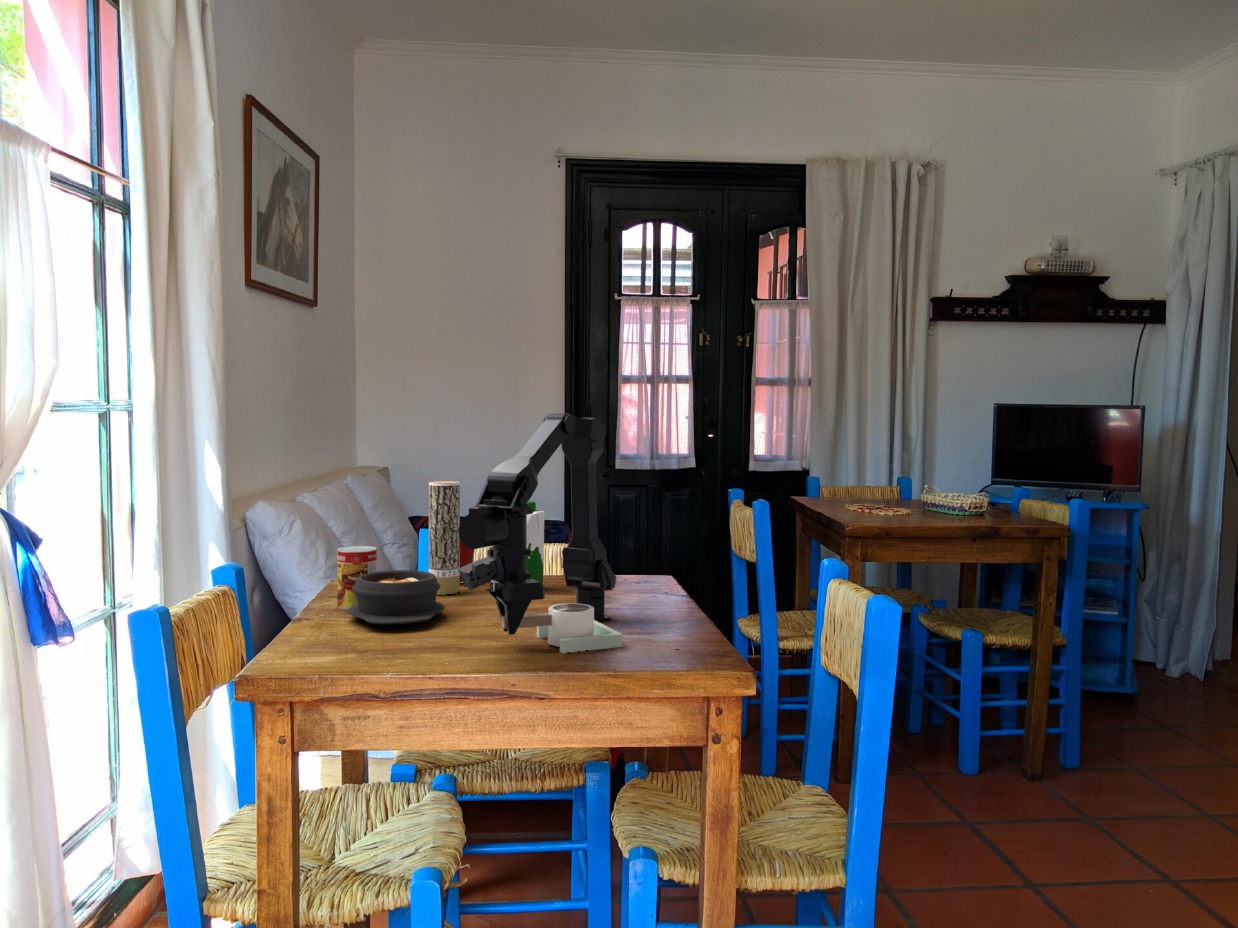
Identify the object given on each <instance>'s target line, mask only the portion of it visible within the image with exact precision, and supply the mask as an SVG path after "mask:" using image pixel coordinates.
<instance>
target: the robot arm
mask: <svg viewBox="0 0 1238 928" xmlns="http://www.w3.org/2000/svg"><path fill="white" fill-rule="evenodd" d="M606 432H607V430H606V427H605V425H604V423H602V422H601V420H600V418H598V417H578V416H575V415H572V414H570V413H553V412H552V413H549V414H546V415H544V417H543V421H542V424H540V426H539V428H537V429H536V431H535V432H534V433H533V435H532V436H531V437H530V438H529V439H528V441H526V443H525V444H524V446H522V448H521V449H520V450H519V451H518V452H517V454H516V455H515V456H514V457H512V458H510V459H507V460H505V461H502V462H501V463H499V464H498V465H497V466H496V467H494V468H493V469H492V470H490V471H489V474H488V475H487V478H486V480H485V483H484V485H483V488H482V490H481V493H480V495H479V497H478V499H477V501H476V504H475V506H469V507H468V514H467V515H465V516H464V517H463V518H462V519H461V521H460V526H459V530H458V531H459V537H460V540H461V541H462V543H463V544H464V545H465V546H466V547H467V548H470V549H475V550H478V549H483V548H488V547H489V548H488V549H487V556H485V557H483V558H479V559H477V560H475V561H473V562H472V563H470V564H468V565H465V566H463V567H461V568H459V569H458V570H459V573H460V576H461V579H462V581H463V584H462V585H463V586H464V587H465V588H467V589H468V590H470V591H471V590H476V589H477V588H480V586H485V584H487V583H489V588H486V589H484V591H485V592H486V593H487V594H489V595H490V596H491V597H492V598H493V599H494V600H495V603H496V608H497V610H498V614H499V619H500V623H501V622H502V616H504V615H506V623H507V628H506V629H504V628H503V627H502V630H503V632H507V633H508V635H510V636H513V635H515V634H516V633H517V630H518V627H519V624H520V622H521V620H522V618H523V616H524V614H526V612H527V610H528V607H529V606H530V604H531V602H532V601H537V600H538V601H539V600H540V601H541V600H545V598H546V587H545V586H544V584H543V585H542V584H541V583H540V582H538V581H536V580H534V579H530V573H529V572H526V555H530V549H528V548H526V547H527V515H528V514H533V509H532V508H531V507H530V506H528V505H527V503H526V502H528V501H531V498H532V496H533V495H534V493H535V492H536V489H537V487H538V485H539V480H538V476H539V474H540V471H541V470H542V469H543V468H544V467H545V466H546V464H547V462H548V461H549V460H550V458H552V456H553V455H554V453H556V451H557V450H558V449H559V447H560V446H561V450H562V453H563V454H564V456H565V457H566V459H567V461H568V462H569V464H570V487H571V488H570V491H571V493H570V494H571V495H570V496H571V497H570V498H571V501H570V502H571V533H572V534H571V536H572V537H571V539H570V541H569V543H568V544H567V546H565V547H563V548H562V552H561V553H562V566H561V568H562V570H563V574H564V580H565V584H566V587H567V588H575V590H576V593H575V603H576V604H585V605H590V606H592V607H594V620H595V621H597V622H600V621H609V620H612V616H610V615H608V614H606V609H605V608H606V591H612V590H614V588H615V587H616V582H617V576H616V574H615V572H614V571H613V569H612V568H611V566H610V564H609V562H608V557H607V556H608V555H607V550H606V548H605V546H604V544H603V543H602V541H601V540H600V538H599V535H598V500H597V499H598V496H597V492H598V491H597V488H598V487H597V462H598V461H599V458H600V456H602V454H603V451H604V449H605V439H606V434H607V433H606Z"/></svg>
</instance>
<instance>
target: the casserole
mask: <svg viewBox="0 0 1238 928" xmlns="http://www.w3.org/2000/svg"><path fill="white" fill-rule="evenodd" d="M440 587H441V585H440V584H439V583H438V582H437V579H436V576H435V575H434V574H432V573H429V571H424V570H423V571H422V570H413V569H404V570H403V569H398V570H397V569H396V570H395V569H393V570H392V569H391V570H380V571H377V572H373V573H368V574H364V575H361V576H359V577H358V578H357V581H356V584H355V585H354V586H353V587H352V590H353V592H354V593H355V595H356V600H357V604H356V605H354V606H352V607H350V608H349V609H348V610H347V613H348V614H349V615H351V616H352V617H354V618H358V619H361V620H363V621H365V622H367V623H369V624H373V625H374V624H375V625H399V624H415V623H420V622H426V621H429V620H431V619H432V618H433V617H434V616H435V615H438V614H439V613H441V612H443V611H445V609H446V607H445V605H444V604H443V603H441V602H439V601H436V599H437V596H438V595H437V591H438V589H439V588H440Z"/></svg>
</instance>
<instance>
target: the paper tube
mask: <svg viewBox="0 0 1238 928" xmlns="http://www.w3.org/2000/svg"><path fill="white" fill-rule="evenodd" d="M460 489H461V485H460V481H455V480H454V481H447V480H443V481H442V480H441V481H437V480H436V481H429V482H428V572H429V573H432V574H434V575H435V576H436V579H437V582H438V583H439V584H440V585H441V587H440V588H439V589H438V591H437V595H436V596H446V595H445V594H453V595H456V594H458V593H459V592H460V586H461V584H460V573H459V570H458V569H459V568H460V537H459V531H458V530H459V526H460V523H461V521H460V520H461V513H460V512H461V511H460V510H461V509H460V506H461V503H460V502H461V501H460V500H461V497H460V496H461V491H460ZM457 592H458V593H457ZM455 593H456V594H455ZM438 594H439V595H438Z"/></svg>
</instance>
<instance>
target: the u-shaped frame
mask: <svg viewBox="0 0 1238 928" xmlns="http://www.w3.org/2000/svg"><path fill="white" fill-rule="evenodd" d="M536 638H538V639H546V638H547V639H548V626H536ZM622 647H623V633H621V632H619V631H617V630H616V629H613V628H611V627H609V626H607V625H605V624H603V623H601V622H600V621H595V620H594V635H593V636H583V637H574V638H564V639H560V647H559V653H561V652H562V653H561V654H567V653H566V652H571V653H578V651H580V652H586V651H585V650H589V651H595V650H605V649H612V648H622Z"/></svg>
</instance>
